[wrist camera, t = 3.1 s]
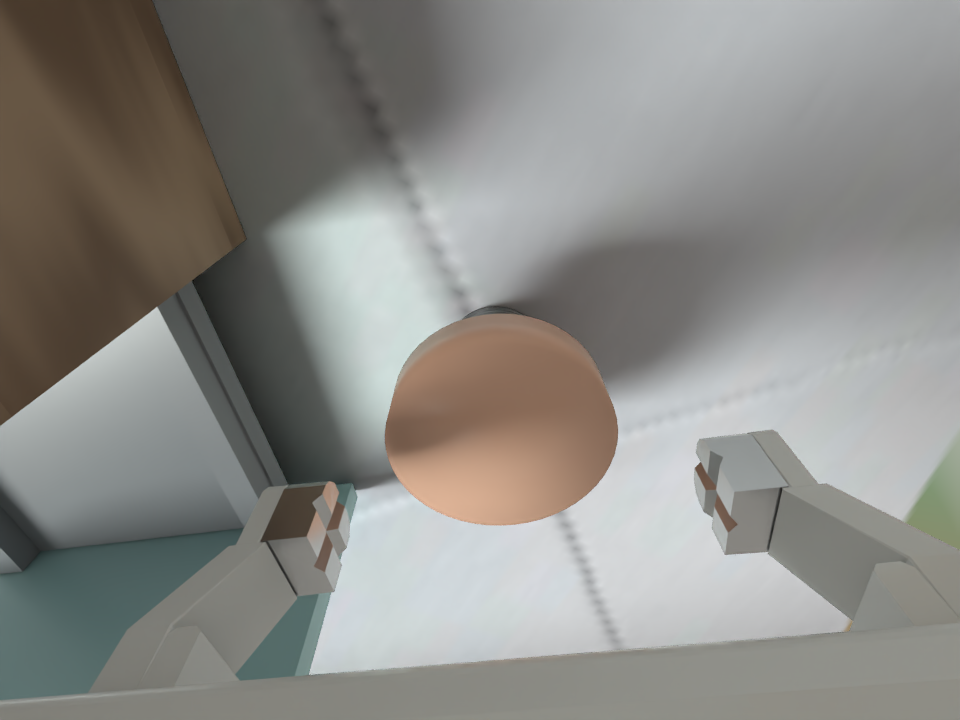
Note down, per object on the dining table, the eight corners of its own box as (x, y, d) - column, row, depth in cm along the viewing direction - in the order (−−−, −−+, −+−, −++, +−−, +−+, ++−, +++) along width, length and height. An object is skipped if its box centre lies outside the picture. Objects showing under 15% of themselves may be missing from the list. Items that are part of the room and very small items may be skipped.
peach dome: (606, 473, 16) (619, 513, 14) (418, 495, 16) (413, 535, 15) (600, 298, 13) (616, 326, 11) (369, 330, 13) (357, 362, 12)
